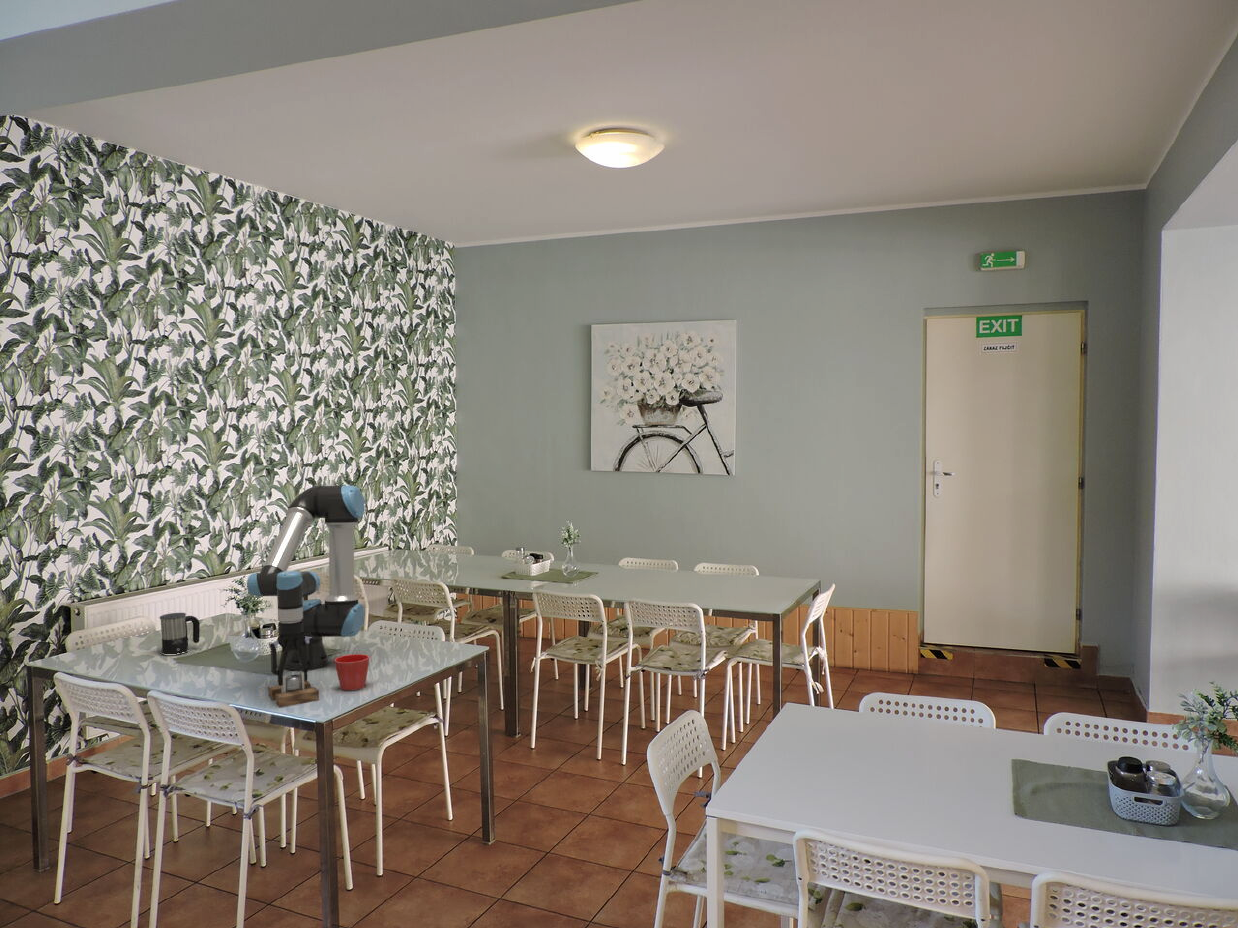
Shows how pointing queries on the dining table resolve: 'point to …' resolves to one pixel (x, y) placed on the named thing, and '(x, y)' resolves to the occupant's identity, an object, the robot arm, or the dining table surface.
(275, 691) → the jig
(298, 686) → the bushing
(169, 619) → the milk frother
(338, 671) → the flower pot
